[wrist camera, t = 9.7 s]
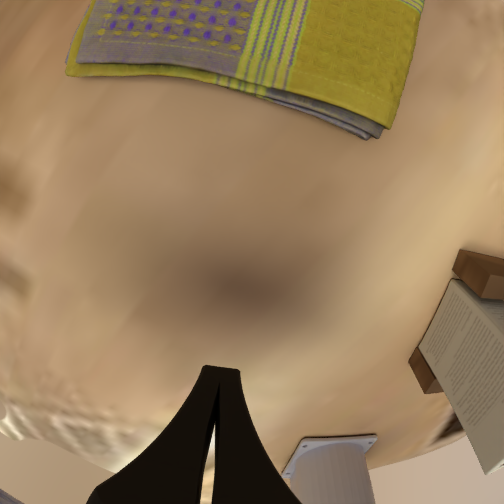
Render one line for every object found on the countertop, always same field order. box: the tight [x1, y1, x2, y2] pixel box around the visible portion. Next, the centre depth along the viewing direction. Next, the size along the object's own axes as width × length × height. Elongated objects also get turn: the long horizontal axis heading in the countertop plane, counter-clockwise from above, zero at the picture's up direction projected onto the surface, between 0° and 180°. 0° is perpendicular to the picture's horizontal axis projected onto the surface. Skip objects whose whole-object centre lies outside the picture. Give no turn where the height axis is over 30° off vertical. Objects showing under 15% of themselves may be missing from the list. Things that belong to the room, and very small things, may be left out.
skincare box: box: [419, 279, 504, 475], centre depth 13 cm, size 6×4×12 cm
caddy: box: [409, 250, 504, 394], centre depth 16 cm, size 12×10×4 cm
